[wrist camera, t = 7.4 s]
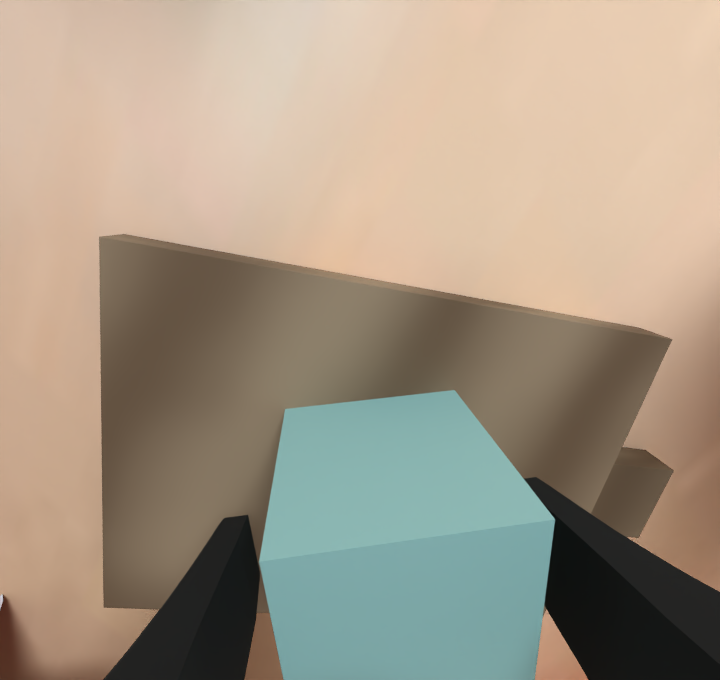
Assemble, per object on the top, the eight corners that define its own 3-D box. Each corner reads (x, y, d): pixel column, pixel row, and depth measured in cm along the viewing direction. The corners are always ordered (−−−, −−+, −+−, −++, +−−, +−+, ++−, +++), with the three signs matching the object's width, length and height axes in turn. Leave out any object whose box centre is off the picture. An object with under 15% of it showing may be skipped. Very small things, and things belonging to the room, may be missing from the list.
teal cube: (454, 390, 11) (555, 519, 6) (452, 522, 13) (531, 703, 8) (285, 409, 11) (259, 561, 6) (305, 542, 12) (297, 745, 8)
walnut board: (699, 338, 13) (736, 351, 12) (574, 595, 16) (593, 623, 15) (124, 234, 10) (99, 236, 9) (121, 574, 13) (103, 607, 12)
